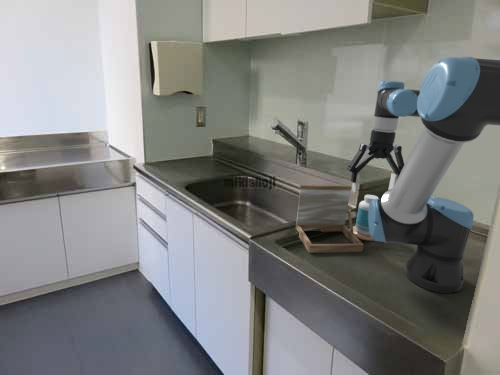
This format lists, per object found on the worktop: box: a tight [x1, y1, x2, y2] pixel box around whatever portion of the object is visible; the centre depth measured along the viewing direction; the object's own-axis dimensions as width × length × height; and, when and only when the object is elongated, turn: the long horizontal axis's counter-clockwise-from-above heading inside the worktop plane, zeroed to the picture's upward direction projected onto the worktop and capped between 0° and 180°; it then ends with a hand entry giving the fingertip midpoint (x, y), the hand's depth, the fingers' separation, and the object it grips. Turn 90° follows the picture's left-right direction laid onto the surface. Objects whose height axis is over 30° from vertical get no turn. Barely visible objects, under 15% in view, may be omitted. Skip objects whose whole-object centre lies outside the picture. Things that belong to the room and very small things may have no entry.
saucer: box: [348, 225, 376, 242], centre depth 131 cm, size 11×11×1 cm
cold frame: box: [295, 184, 365, 254], centre depth 121 cm, size 16×19×17 cm
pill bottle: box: [354, 194, 380, 236], centre depth 129 cm, size 8×7×14 cm
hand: (372, 191), depth 126 cm, fingers open, 13 cm apart
